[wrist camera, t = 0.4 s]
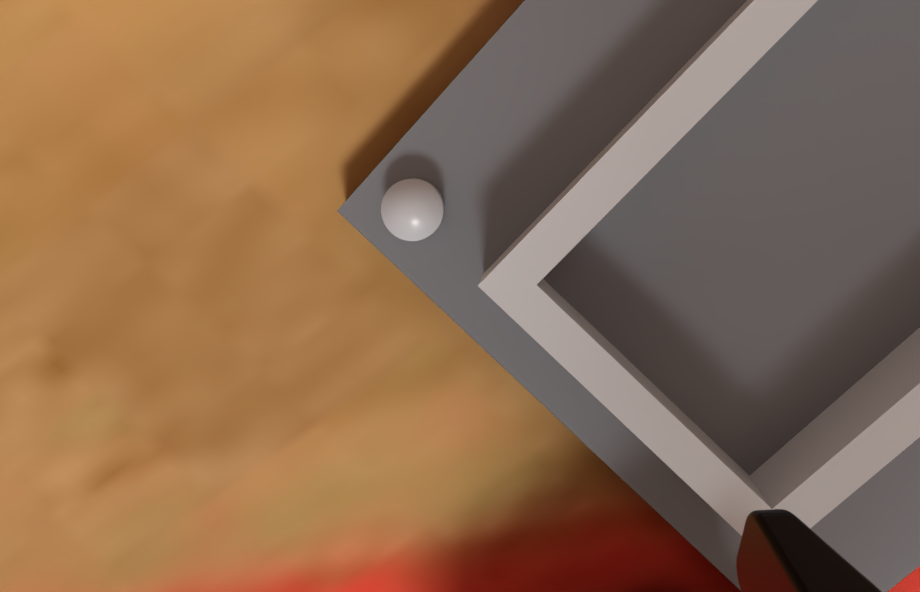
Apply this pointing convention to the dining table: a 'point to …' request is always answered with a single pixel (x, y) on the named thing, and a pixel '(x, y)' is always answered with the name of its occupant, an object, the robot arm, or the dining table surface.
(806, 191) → the chassis plate
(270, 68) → the dining table surface
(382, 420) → the dining table surface
